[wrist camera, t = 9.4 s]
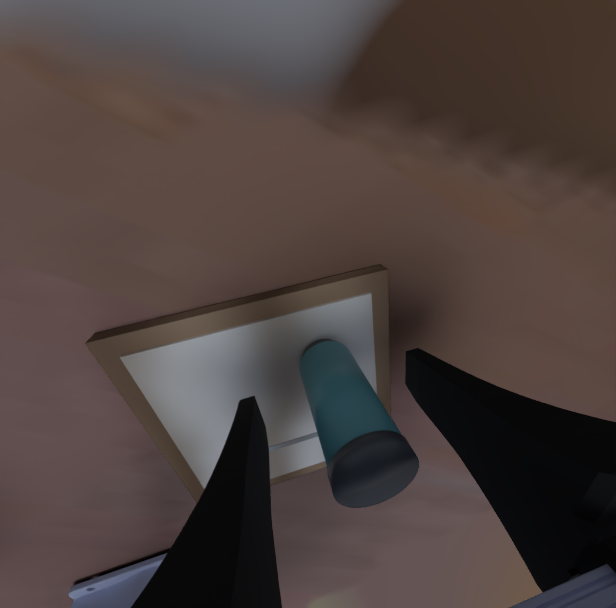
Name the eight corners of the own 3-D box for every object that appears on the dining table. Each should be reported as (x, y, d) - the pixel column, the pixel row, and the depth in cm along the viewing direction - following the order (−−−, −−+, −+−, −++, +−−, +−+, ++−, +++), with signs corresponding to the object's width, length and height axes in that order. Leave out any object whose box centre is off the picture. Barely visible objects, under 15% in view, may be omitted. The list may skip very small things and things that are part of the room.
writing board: (202, 496, 18) (200, 512, 17) (94, 333, 12) (82, 346, 11) (386, 435, 20) (392, 447, 19) (380, 264, 13) (390, 270, 12)
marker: (301, 383, 14) (339, 518, 9) (290, 341, 13) (327, 467, 7) (350, 368, 15) (417, 488, 9) (344, 326, 13) (420, 436, 8)
